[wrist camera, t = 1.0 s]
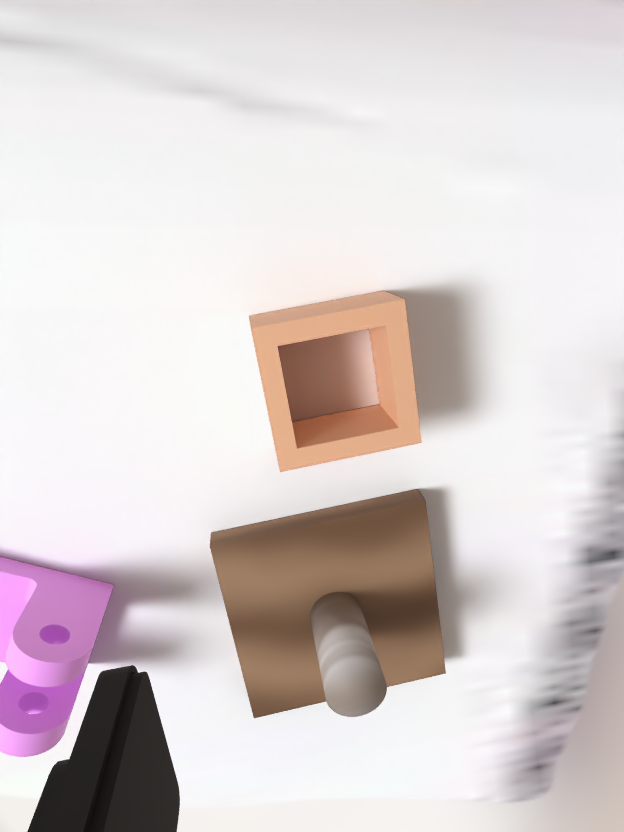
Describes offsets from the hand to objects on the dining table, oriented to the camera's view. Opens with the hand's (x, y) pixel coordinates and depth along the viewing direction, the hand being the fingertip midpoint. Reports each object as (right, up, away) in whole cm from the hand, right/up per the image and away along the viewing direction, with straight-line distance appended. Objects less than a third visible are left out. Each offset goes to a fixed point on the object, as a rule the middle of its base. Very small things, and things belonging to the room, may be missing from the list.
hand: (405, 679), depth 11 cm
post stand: (-1, -6, +24) cm, 25 cm away
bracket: (-20, -5, +22) cm, 30 cm away
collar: (-1, +7, +20) cm, 21 cm away
